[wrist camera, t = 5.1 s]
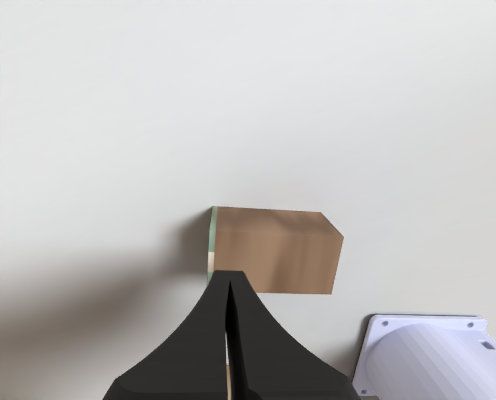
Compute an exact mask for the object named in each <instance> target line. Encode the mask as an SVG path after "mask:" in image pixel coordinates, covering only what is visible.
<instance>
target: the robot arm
mask: <svg viewBox="0 0 496 400" xmlns="http://www.w3.org/2000/svg"><path fill="white" fill-rule="evenodd" d="M383 321H384V322H383ZM487 325H488V322H487V321H486V320H485V319H484V318H483V317H464V316H413V315H374V316H372V317H371V319H370V321H369V325H368V328H367V332H366V336H365V339H364V343H363V346H362V350H361V353H360V357H359V360H358V364H357V368H356V371H355V375H354V378H353V382H352V383H351V382H350V380H349V378H348V377H347V376H345V375H344V374H342V373H341V372H339V371H338V370H336V369H334V368H333V367H331V366H330V365H328V364H326V363H325V362H323V361H322V360H320V359H319V358H318V357H316V356H315V355H314V354H312V353H311V352H310V351H308V350H307V349H306V348H305V347H303V346H302V345H301V344H300V343H299V342H298V341H296V340H295V339H294V338H293V337H292V336H291V335H290V334H289V333H288V332H287V331H286V330H284V328H283V327H282V326H281V325H280V324H279V323H278V322H277V321H276V320H275V319H274V317H273V316H272V315H271V314H270V312H269V311H268V310H267V308H266V307H265V306H264V304H263V303H262V302H261V300H260V299H259V297H258V296H257V294H256V293H255V291H254V289H253V288H252V286H251V284H250V282H249V281H248V279H247V277H246V274H245V273H244V272H243V271H232V270H215V271H214V272H213V274H212V277H211V280H210V282H209V284H208V286H207V288H206V290H205V291H204V293H203V295H202V296H201V298H200V300H199V301H198V302H197V304H196V305H195V307H194V308H193V310H192V311H191V312H190V314H189V315H188V316H187V317H186V319H185V320H184V321H183V322H182V323H181V324H180V326H179V327H178V328H177V329H176V330H175V331H174V332H173V333H172V334H171V335H170V336H169V337H168V338H167V339H166V340H165V341H164V342H163V343H162V344H161V345H160V346H158V347H157V348H156V349H155V350H154V351H153V352H151V353H150V354H149V355H148V356H147V357H146V358H144V359H143V360H142V361H140V362H139V363H138V364H136V365H135V366H134V367H132V368H131V369H129V370H128V371H126V372H125V373H124V374H122V375H121V376H119V377H118V378H116V379H115V380H114V382H113V383H112V385H111V386H110V388H109V390H108V391H107V393H106V394H105V396H104V398H103V400H228V386H227V368H226V338H225V334H226V336H227V348H228V359H229V371H230V384H231V400H361V399H360V397H359V396H378V398H379V400H496V341H495V340H494V339H493V338H492V337H491V336H490V335H488V334H487V333H486V332H485V330H486V327H487Z"/></svg>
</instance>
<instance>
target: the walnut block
mask: <svg viewBox="0 0 496 400" xmlns="http://www.w3.org/2000/svg"><path fill="white" fill-rule="evenodd" d="M343 238H344V237H343V236H342V235H341V233H340V232H339V231H338V230H337V229H336V228H335V227H334V226H333V225H332V224H331V223H330V222H329V221H328V219H327V218H326V217H325V216H324V215H323V214H322V213H321V212H305V211H288V210H270V209H252V208H235V207H217V206H213V208H212V216H211V223H210V232H209V252H208V273H207V286H208V284H209V282H210V280H211V277H212V274H213V272H214V271H215V270H232V271H243V272H244V273H245V274H246V277H247V279H248V281H249V282H250V284H251V286H252V288H253V289H254V291H255V293H291V294H331V293H332V289H333V284H334V279H335V275H336V270H337V266H338V261H339V257H340V252H341V247H342V243H343Z"/></svg>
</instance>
